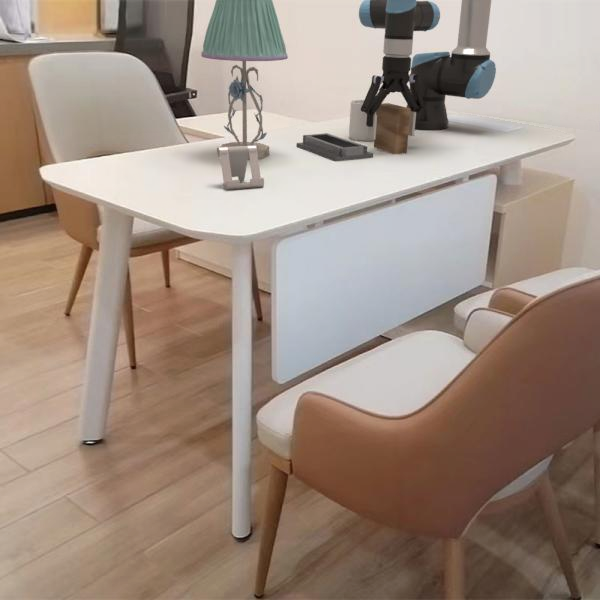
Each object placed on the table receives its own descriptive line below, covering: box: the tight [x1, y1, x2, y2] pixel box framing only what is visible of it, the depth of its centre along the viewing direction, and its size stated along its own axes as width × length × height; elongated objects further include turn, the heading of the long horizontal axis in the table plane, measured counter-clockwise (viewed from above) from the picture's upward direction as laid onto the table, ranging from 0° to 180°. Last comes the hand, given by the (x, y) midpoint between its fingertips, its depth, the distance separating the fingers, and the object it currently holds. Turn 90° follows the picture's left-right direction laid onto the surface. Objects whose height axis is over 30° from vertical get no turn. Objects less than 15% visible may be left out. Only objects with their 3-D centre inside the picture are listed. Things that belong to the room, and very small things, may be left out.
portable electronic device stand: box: [216, 145, 265, 191], centre depth 163 cm, size 9×8×8 cm
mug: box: [348, 99, 376, 142], centre depth 218 cm, size 9×12×11 cm
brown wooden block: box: [373, 102, 411, 155], centre depth 203 cm, size 4×10×12 cm, turn 30°
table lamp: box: [200, 0, 289, 161], centre depth 186 cm, size 22×22×40 cm
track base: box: [296, 132, 374, 162], centre depth 200 cm, size 12×20×3 cm, turn 30°
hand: (391, 137), depth 203 cm, fingers open, 12 cm apart
